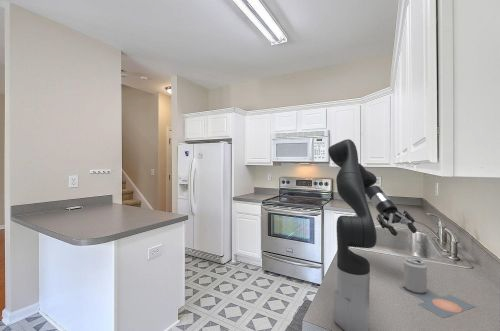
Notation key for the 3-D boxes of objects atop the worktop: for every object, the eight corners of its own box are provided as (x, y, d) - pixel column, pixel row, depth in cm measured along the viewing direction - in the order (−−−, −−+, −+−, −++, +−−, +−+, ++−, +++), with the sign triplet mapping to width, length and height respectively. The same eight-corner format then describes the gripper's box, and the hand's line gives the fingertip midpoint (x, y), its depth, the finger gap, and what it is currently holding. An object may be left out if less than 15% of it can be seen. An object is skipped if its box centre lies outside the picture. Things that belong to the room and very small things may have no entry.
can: (430, 295, 87) (431, 264, 87) (408, 293, 89) (408, 262, 89) (420, 285, 95) (420, 256, 95) (400, 283, 96) (400, 255, 96)
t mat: (443, 319, 75) (443, 317, 75) (391, 290, 91) (391, 289, 91) (475, 307, 81) (475, 306, 81) (421, 282, 98) (421, 282, 98)
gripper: (371, 201, 107) (393, 230, 94) (400, 197, 108) (425, 225, 95) (366, 211, 112) (386, 240, 99) (394, 207, 113) (417, 236, 100)
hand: (405, 233), depth 97 cm, fingers open, 8 cm apart
